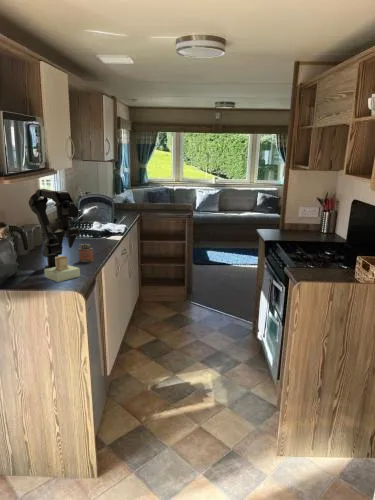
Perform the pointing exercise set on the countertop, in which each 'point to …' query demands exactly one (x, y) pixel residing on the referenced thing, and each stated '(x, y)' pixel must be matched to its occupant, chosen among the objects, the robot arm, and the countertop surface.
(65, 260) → the peg
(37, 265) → the countertop surface
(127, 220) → the countertop surface
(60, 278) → the well holder
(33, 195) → the robot arm
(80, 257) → the lighter
